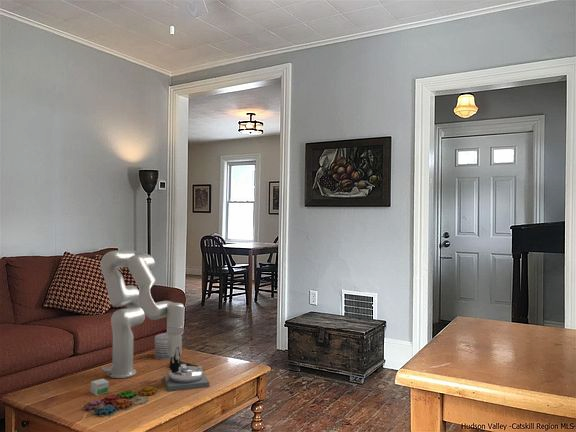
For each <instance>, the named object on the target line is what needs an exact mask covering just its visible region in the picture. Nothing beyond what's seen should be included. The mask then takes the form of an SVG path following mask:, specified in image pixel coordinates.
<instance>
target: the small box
mask: <svg viewBox="0 0 576 432" xmlns="http://www.w3.org/2000/svg"><path fill="white" fill-rule="evenodd" d="M109 387H110V382H109V380H107V379H105V378H100V379H96V380H91V381H90V393H91V394H93V395H94V396H101V395H104V394H107V393H108V394H109V390H110V388H109Z"/></svg>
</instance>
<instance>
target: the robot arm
mask: <svg viewBox="0 0 576 432" xmlns="http://www.w3.org/2000/svg"><path fill="white" fill-rule="evenodd" d="M155 265H156V261H155V259H154V257H153V256H152V255H150V254H148V253H144V252H141V251H139V250H134V249H124V250H123V249H122V250H112V251H111V250H110V251H108V252H107V253H105V254H104V255H103V256H102V258H101V260H100V271H101V273H102V276H103V278H104V282H105V286H106V291H107V295H108V300H109V302H110V304H111V306H113V307H115V308H117V307H124V306H126V307H124V308H120V309H117V310H116V311H114V312H113V313H112V315H111V318H110V323H111V330H112V355H111V356H112V360H111V361H112V363H111V365H109V366H103V367H102V369H101V371H102V372H103V373H108V377H110V378H112V379H124V378H125V379H126V378H131V377H133V376H135V375H136V374H137V369H135V368H134V343H135V341H134V340H135V339H134V338H135V337H134V333H133V330H132V328H133V327H136V326H138V325H141V324H143V322H144V321H145V319H146V318H148V319H149V320H152V321H155V320H160V319H164V318H166V333H167V335H168V338H167V354H168V355H169V356H170V359H169V371H170V370H171V371H172V372H178V371H179V359H180V357H181V356H182V349H183V344H182V343H183V341H182V339H183V338H182V335H183V334H184V331H185V330H184V329H185V327H184V326H185V324H184V323H185V322H184V321H185V319H184V318H185V306H184V303H181V302H174V301H170V300H163V301H157V302H155V301H154V298H153V297H152V294H151V288H152V287H153V286H154V285H155V284H156V281H157V279H156V277H155V276H154V274H153V272H152V271H153V269H154V268H155ZM119 268H128V271H129V272H130V275H131V277H132V278H133V280H134V282H135V283H136V286H135V285H133V284H130V285H126V283H125V280H124V276H123V274H122V273H121V271H120V270H119ZM138 288H139V289H138Z"/></svg>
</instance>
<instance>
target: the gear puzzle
mask: <svg viewBox="0 0 576 432" xmlns="http://www.w3.org/2000/svg"><path fill="white" fill-rule="evenodd" d="M158 391H159V390H158V389H157V387H153V386H151V385H150V386H144V387H143V388H140V390H138V392H137V391H133V390H131V389H127V390H124V391H121V392H120V391H119V393H117V394H109V395H107V396H104V398H101V399H100V400H99V399H93V400H90V401H89V402H87V403H86V404H83V406H82V407H81V409H82V410H83V411H86V410H87V412H88V413H91V414H92V415H98V417H100V418H106V417H108V416H109V417H112V416H116V414H117V413H119V412H124V411H125V410H126V411H130V410H132V408H134V407H135V406H140V405H141V406H142V405H146V404H147V403H148V402H150V399H149V397H148V396H152V395H155V394H156V393H157V392H158ZM138 394H139V395H138Z"/></svg>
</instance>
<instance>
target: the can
mask: <svg viewBox="0 0 576 432" xmlns="http://www.w3.org/2000/svg"><path fill="white" fill-rule="evenodd" d="M167 338H168V335H167V332H166V333H165V332H164V333H159V334H157V335H155V336H154V358H155V359H157V360H170V356H169V355H168V354H167Z"/></svg>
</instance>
